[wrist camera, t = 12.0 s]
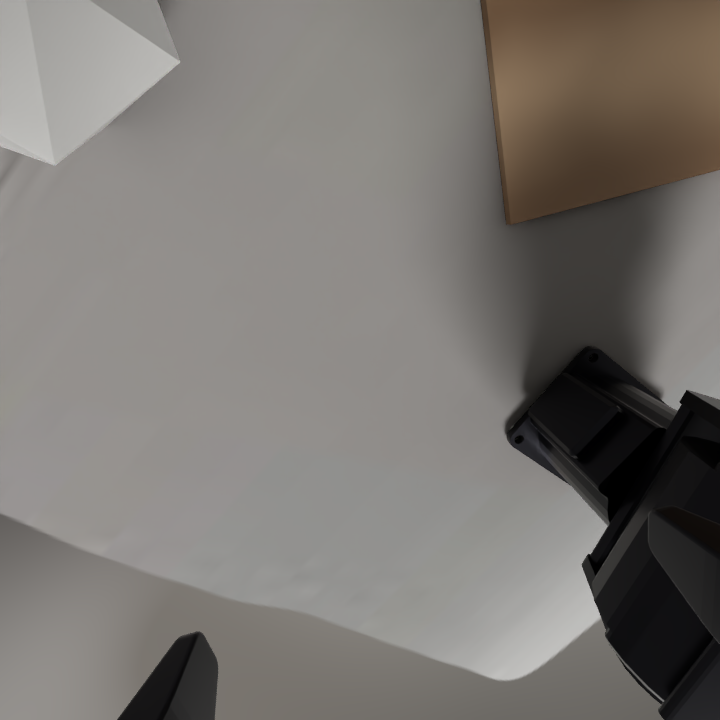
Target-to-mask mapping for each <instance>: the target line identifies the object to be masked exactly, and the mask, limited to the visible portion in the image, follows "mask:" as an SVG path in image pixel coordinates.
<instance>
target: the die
mask: <svg viewBox="0 0 720 720" xmlns="http://www.w3.org/2000/svg"><path fill="white" fill-rule="evenodd" d="M179 63H180V59H179V57H178V54H177V51H176V49H175V46H174V43H173V41H172V38H171V35H170V33H169V30H168V27H167V25H166V22H165V19H164V17H163V14H162V11H161V8H160V6H159V3H158V0H0V146H1V147H4V148H7V149H9V150H12V151H15V152H18V153H21V154H23V155H26V156H29V157H32V158H35V159H38V160H40V161H43V162H46V163H49V164H52V165H54V166H55V165H57V164H58V163H59V162H60V161H62V160H63V159H64V158H66V157H67V156H68V155H70V154H71V153H72V152H74V151H75V150H76V149H77V148H79V147H80V146H81V145H83V144H84V143H85V142H87V141H88V140H89V139H91V138H92V137H93V136H95V135H96V134H97V133H98V132H100V131H101V130H102V129H104V128H105V127H106V126H107V125H109V124H110V123H111V122H112V121H113V120H114V119H115V118H117V117H118V116H119V115H120V114H121V113H122V112H124V111H125V110H126V109H127V108H128V107H129V106H130V105H132V104H133V103H134V102H135V101H136V100H137V99H139V98H140V97H141V96H142V95H143V94H144V93H145V92H147V91H148V90H149V89H150V88H151V87H152V86H153V85H155V84H156V83H157V82H158V81H159V80H160V79H162V78H163V77H164V76H165V75H166V74H167V73H168V72H170V71H171V70H172V69H173V68H174V67H175V66H177V65H178V64H179Z"/></svg>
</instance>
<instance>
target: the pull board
mask: <svg viewBox="0 0 720 720" xmlns="http://www.w3.org/2000/svg"><path fill="white" fill-rule="evenodd" d="M481 7H482V16H483V25H484V34H485V42H486V51H487V60H488V69H489V77H490V86H491V95H492V103H493V112H494V121H495V130H496V138H497V147H498V156H499V165H500V173H501V182H502V191H503V200H504V208H505V217H506V224H509V225H512V224H516V223H519V222H523V221H527V220H531V219H535V218H538V217H542V216H546V215H550V214H554V213H557V212H561V211H565V210H569V209H572V208H576V207H580V206H584V205H588V204H591V203H595V202H599V201H603V200H607V199H610V198H614V197H618V196H622V195H626V194H629V193H633V192H637V191H641V190H645V189H648V188H652V187H656V186H660V185H663V184H667V183H671V182H675V181H679V180H682V179H686V178H690V177H694V176H698V175H701V174H705V173H709V172H713V171H717V170H720V0H481Z"/></svg>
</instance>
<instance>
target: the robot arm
mask: <svg viewBox="0 0 720 720" xmlns="http://www.w3.org/2000/svg"><path fill="white" fill-rule="evenodd" d="M591 354H593V357H592V359H590V360H589V356H590V355H591ZM680 403H681V404H682V405H681V406H680V408H679V410H678V411H676V410H675V409H673V408H671V407H669V406H668V405H666V404H665V403H664V402H663V401H662V400H660V399H659V398H658V397H657V396H656V395H654V394H653V393H652V392H651V391H649V390H648V389H647V388H646V387H645V386H643V385H642V384H641V383H640V382H639V381H637V380H636V379H635V378H634V377H633V376H631V375H630V374H629V373H628V372H626V371H625V370H624V369H623V368H622V367H620V366H619V365H618V364H617V363H616V362H614V361H613V360H612V359H611V358H610V357H608V356H607V355H606V354H605V353H603V352H602V351H601V350H599V349H597V348H595V347H593V346H588V347H585V348H584V349H583V350H582V351H581V352H580V353H579V354H578V355H577V356H576V357H575V359H574V360H573V361H572V362H571V363H570V364H569V365H568V366H567V368H566V369H565V370H564V371H563V372H562V373H561V374H560V375H559V376H558V377H557V378H556V379H555V381H554V382H553V383H552V384H551V385H550V386H549V387H548V388H547V389H546V391H545V392H544V393H543V394H542V395H541V396H540V397H539V398H538V399H537V401H536V402H535V403H534V404H533V405H532V406H531V407H530V408H529V410H528V411H527V412H526V413H525V414H524V415H523V416H522V418H521V419H520V420H519V421H518V422H517V423H516V424H515V425H514V427H513V428H512V429H511V430H510V431H509V432H508V434H507V440H508V442H509V443H510V444H511V445H512V446H513V447H514V448H516V449H517V450H519V451H520V452H522V453H523V454H525V455H526V456H528V457H529V458H531V459H532V460H534V461H535V462H537V463H538V464H539V465H541V466H542V467H544V468H545V469H547V470H548V471H550V472H551V473H553V474H554V475H556V476H557V477H559V478H560V479H562V480H563V481H565V482H566V483H568V484H569V485H571V486H572V487H573V488H574V490H575V491H576V492H577V493H578V494H579V495H580V496H581V497H582V498H583V499H584V500H585V502H586V503H587V504H588V505H589V506H590V507H591V508H592V509H593V510H594V511H595V512H596V514H597V515H598V516H599V517H600V518H601V519H602V520H603V521H604V522H605V523H606V524H607V526H608V527H607V529H606V530H605V532H604V534H603V535H602V537H601V539H600V540H599V542H598V543H597V545H596V547H595V548H594V550H593V552H592V553H591V554H588V555H587V556H586V558H585V560H584V561H583V563H582V567H583V570H584V573H585V575H586V578H587V581H588V583H589V586H590V589H591V591H592V594H593V597H594V601H595V603H596V605H597V607H598V610H599V613H600V615H601V618H602V621H603V623H604V626H605V629H606V632H605V636H606V639H607V641H608V643H609V645H610V646H611V648H612V649H613V650H614V652H615V653H616V655H617V656H618V658H619V659H620V661H621V662H622V664H623V665H624V667H625V669H626V670H627V671H628V672H629V673H630V674H631V675H632V677H633V678H634V679H635V680H636V681H637V683H638V684H639V685H640V686H641V687H642V688H644V689H645V690H646V691H647V692H648V693H649V694H650V695H651V696H652V697H653V698H654V699H655V700H657V701H658V702H659V703H660V704H661V706H660V707H659V709H658V711H659V713H660V715H661V716H662V718H663V719H664V720H720V400H719V399H715V398H712V397H709V396H706V395H702V394H699V393H696V392H692V391H689V390H686V392H685V394H684V395H683V397H682V399H681V400H680ZM519 435H520V438H519V439H517V440H515V438H516V437H517V436H519ZM217 679H218V663H217V659H216V657H215V655H214V653H213V651H212V649H211V647H210V645H209V644H208V642H207V640H206V638H205V636H204V635H203V633H201V632H194V633H190V634H187V635H183V636H181V637H179V638H178V639H177V640H176V641H175V642H174V644H173V645H172V646H171V648H170V649H169V650H168V652H167V653H166V654H165V656H164V657H163V658H162V660H161V661H160V662H159V664H158V665H157V667H156V668H155V669H154V671H153V672H152V673H151V675H150V676H149V677H148V679H147V680H146V682H145V683H144V684H143V686H142V687H141V688H140V690H139V691H138V692H137V694H136V695H135V696H134V698H133V699H132V700H131V702H130V703H129V704H128V706H127V707H126V709H125V710H124V711H123V713H122V714H121V715H120V717H119V718H118V719H117V720H215V706H216V694H217V693H216V692H217Z"/></svg>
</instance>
